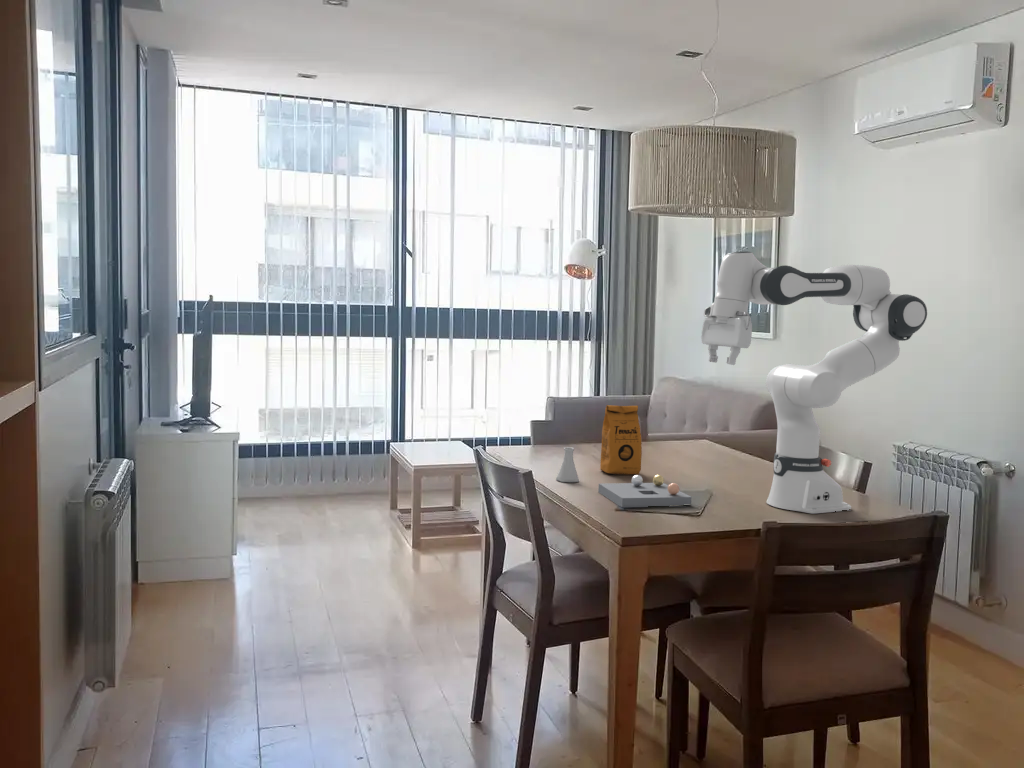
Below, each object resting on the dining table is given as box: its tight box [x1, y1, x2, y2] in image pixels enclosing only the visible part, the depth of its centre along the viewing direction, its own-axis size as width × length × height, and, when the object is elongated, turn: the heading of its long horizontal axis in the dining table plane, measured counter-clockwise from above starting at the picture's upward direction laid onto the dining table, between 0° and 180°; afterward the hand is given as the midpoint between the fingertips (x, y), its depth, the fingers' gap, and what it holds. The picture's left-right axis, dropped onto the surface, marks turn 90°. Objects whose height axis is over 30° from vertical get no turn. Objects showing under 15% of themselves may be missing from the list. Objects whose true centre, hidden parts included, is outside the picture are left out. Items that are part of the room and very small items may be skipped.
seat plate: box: [597, 482, 692, 508], centre depth 230 cm, size 20×18×2 cm
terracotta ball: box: [668, 482, 680, 495], centre depth 226 cm, size 3×3×3 cm
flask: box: [555, 446, 580, 483], centre depth 251 cm, size 7×7×10 cm
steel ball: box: [631, 474, 644, 486], centre depth 235 cm, size 3×3×3 cm
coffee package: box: [599, 404, 643, 476], centre depth 265 cm, size 10×12×22 cm
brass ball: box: [652, 474, 665, 486], centre depth 237 cm, size 3×3×3 cm
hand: (721, 363), depth 221 cm, fingers open, 8 cm apart
